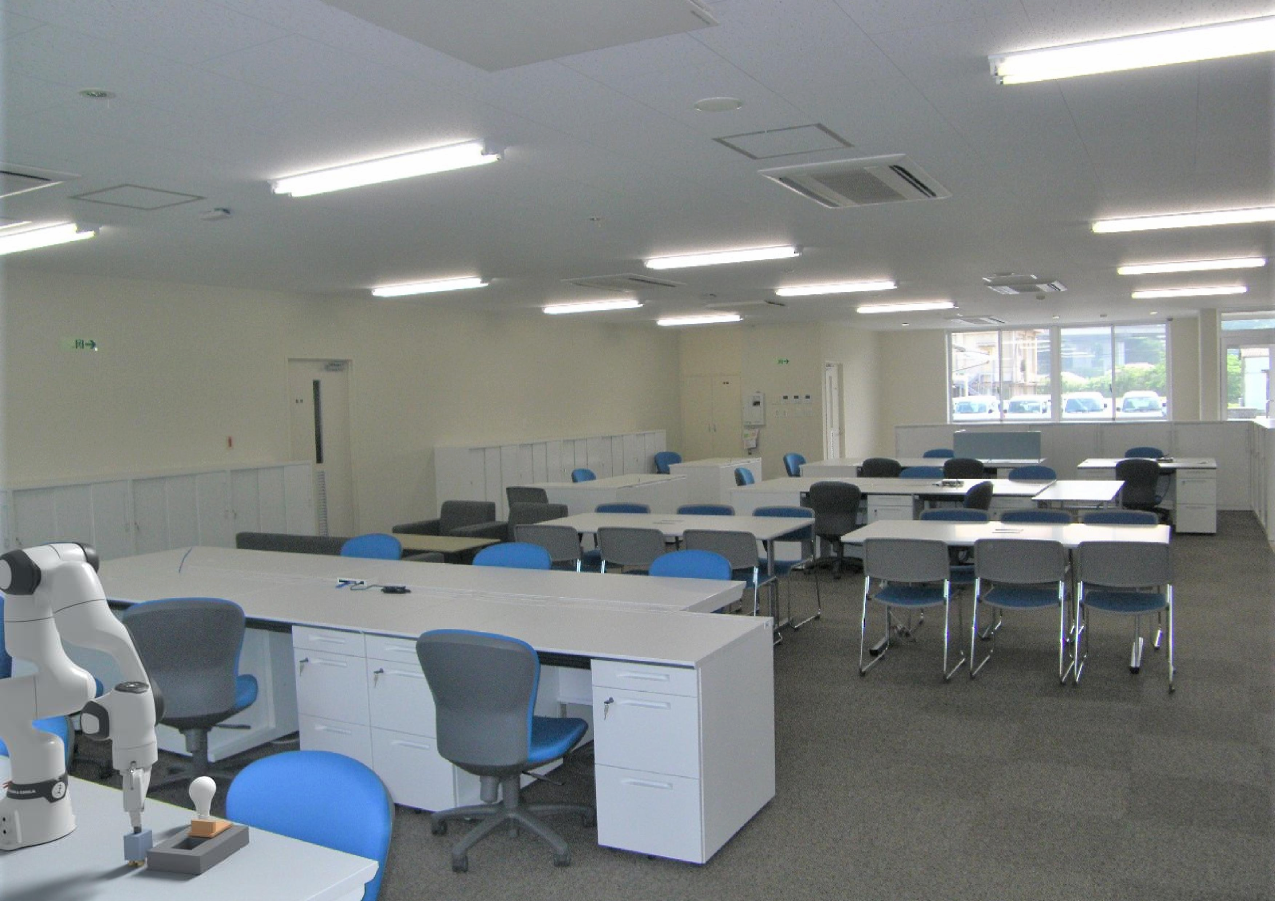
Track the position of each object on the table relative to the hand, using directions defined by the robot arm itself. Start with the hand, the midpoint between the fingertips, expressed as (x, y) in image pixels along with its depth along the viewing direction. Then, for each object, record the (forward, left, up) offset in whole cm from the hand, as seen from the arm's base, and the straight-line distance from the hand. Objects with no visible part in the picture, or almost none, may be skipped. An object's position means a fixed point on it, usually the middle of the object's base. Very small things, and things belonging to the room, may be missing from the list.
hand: (138, 818), depth 211 cm
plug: (-1, 0, -10) cm, 10 cm away
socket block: (+10, +6, -10) cm, 16 cm away
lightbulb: (-3, +23, -11) cm, 26 cm away
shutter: (+10, +10, -6) cm, 16 cm away
